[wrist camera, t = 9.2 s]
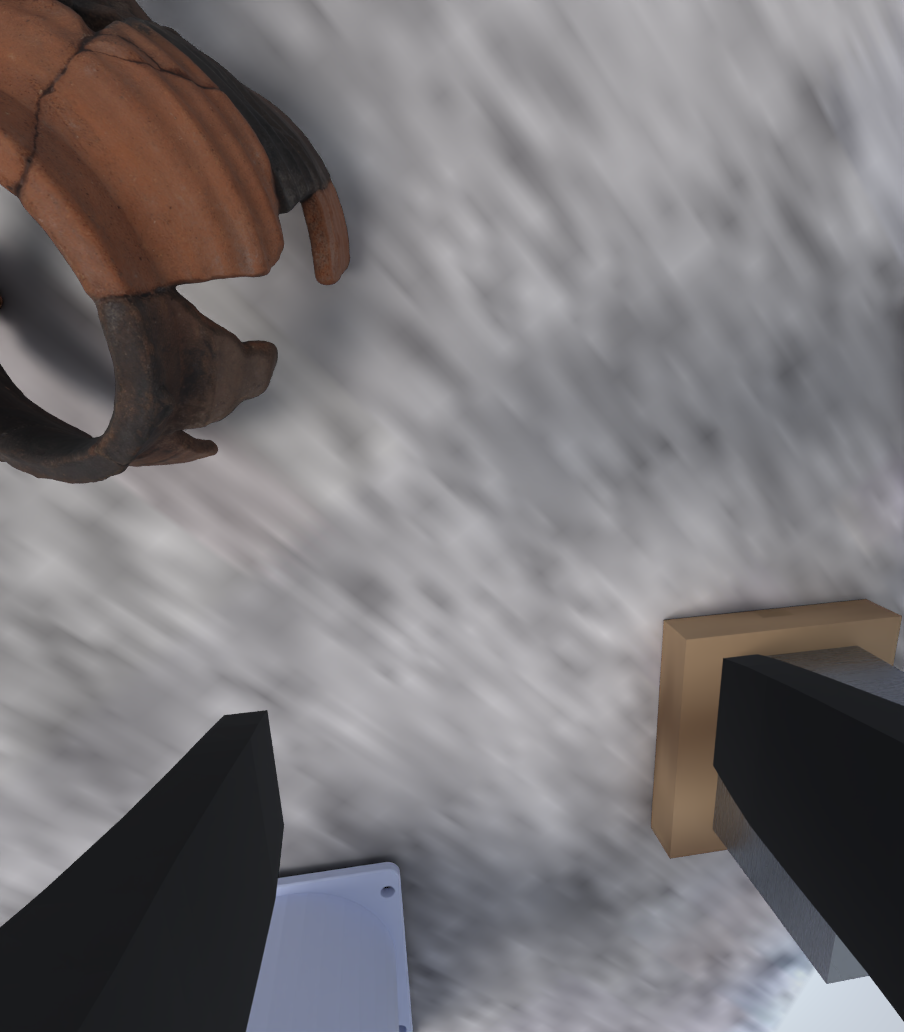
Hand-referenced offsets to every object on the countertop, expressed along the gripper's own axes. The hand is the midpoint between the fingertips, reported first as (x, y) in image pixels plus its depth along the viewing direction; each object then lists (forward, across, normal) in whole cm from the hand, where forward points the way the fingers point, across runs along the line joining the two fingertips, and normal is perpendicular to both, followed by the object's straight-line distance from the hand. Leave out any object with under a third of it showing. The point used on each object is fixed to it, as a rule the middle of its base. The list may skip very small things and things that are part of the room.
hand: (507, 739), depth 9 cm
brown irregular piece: (+10, +7, -10) cm, 16 cm away
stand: (+10, -12, +8) cm, 17 cm away
